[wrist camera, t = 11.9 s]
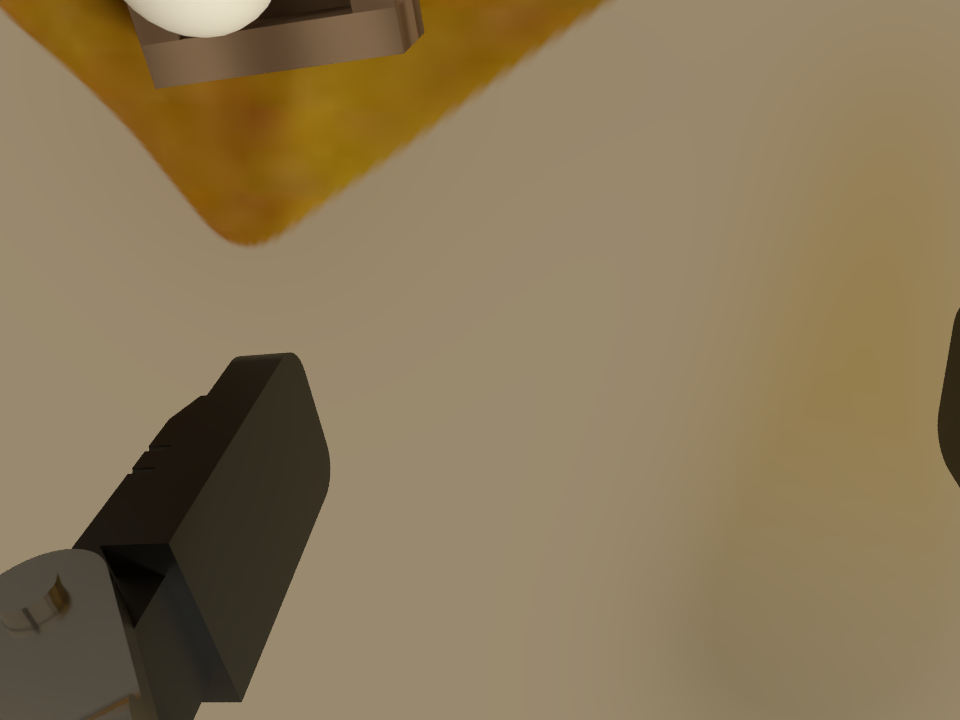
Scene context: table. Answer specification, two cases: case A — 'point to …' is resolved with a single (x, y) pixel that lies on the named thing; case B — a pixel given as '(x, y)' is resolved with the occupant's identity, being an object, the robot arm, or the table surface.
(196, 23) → the lightbulb
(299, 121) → the table surface
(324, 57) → the socket block
